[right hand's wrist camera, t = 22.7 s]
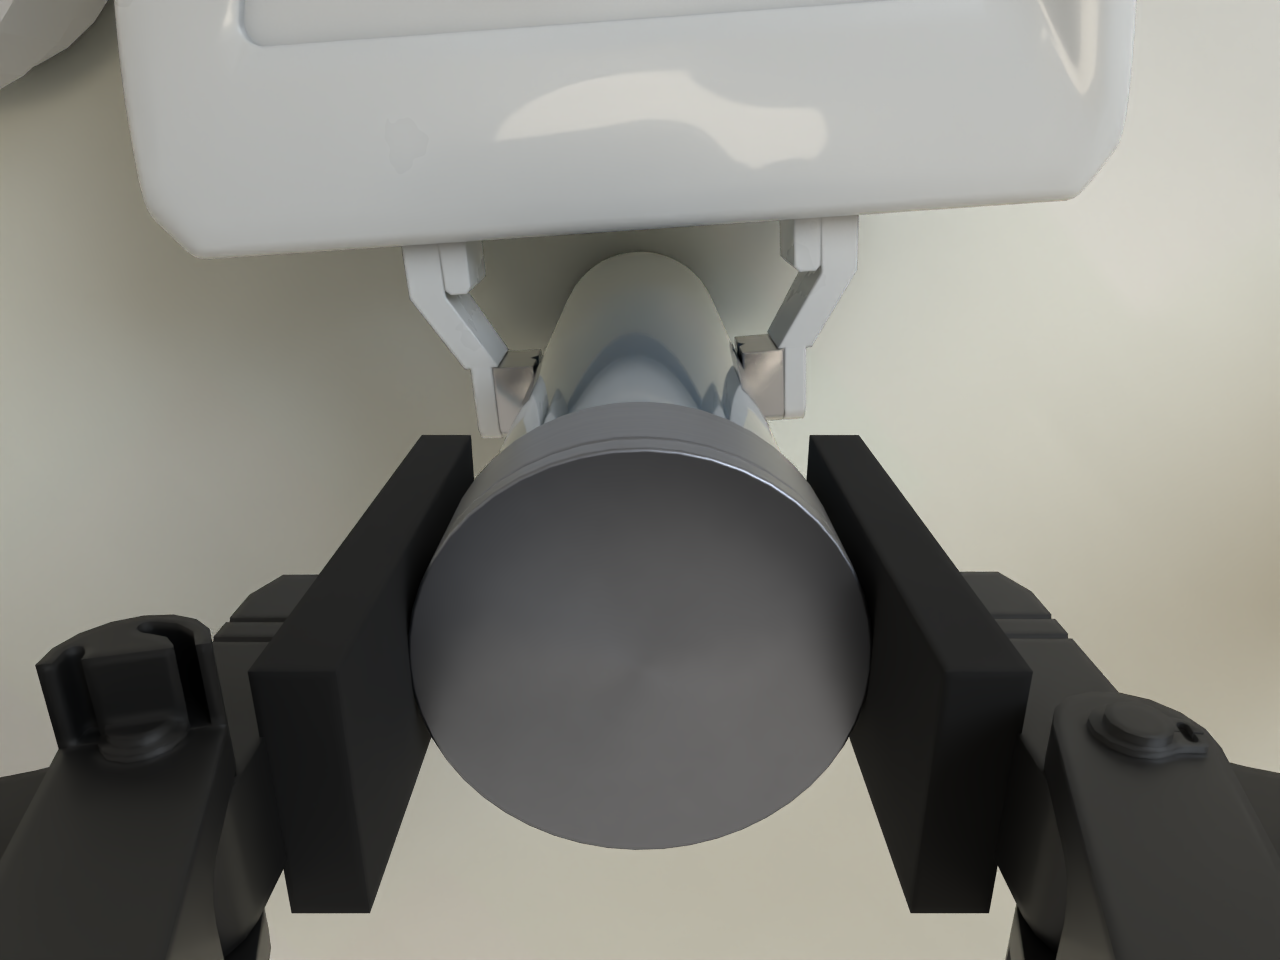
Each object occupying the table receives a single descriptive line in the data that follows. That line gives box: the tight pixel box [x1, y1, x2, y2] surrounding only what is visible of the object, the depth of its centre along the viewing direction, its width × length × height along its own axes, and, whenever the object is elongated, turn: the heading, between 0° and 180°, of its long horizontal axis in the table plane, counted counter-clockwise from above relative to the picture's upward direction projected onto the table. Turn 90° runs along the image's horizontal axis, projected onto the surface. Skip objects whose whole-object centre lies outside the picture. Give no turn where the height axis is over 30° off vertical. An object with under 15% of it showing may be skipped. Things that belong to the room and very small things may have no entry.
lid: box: [408, 402, 873, 850], centre depth 11 cm, size 5×5×2 cm
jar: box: [499, 251, 781, 453], centre depth 19 cm, size 5×5×18 cm
